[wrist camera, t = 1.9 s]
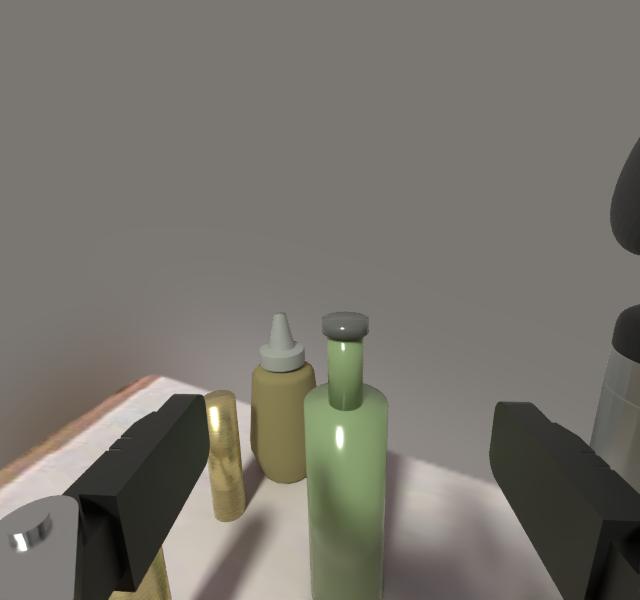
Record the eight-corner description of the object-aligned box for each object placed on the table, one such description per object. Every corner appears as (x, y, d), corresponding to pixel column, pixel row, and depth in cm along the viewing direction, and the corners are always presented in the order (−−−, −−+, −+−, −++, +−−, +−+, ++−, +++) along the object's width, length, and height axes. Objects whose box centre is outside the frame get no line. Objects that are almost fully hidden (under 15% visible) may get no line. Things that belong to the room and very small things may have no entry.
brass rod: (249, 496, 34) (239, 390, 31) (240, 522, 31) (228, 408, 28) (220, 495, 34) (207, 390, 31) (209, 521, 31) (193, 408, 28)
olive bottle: (378, 553, 28) (385, 306, 23) (386, 631, 23) (397, 334, 17) (314, 550, 28) (305, 306, 23) (307, 626, 23) (294, 334, 18)
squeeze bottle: (256, 444, 42) (244, 305, 37) (320, 439, 42) (317, 302, 38) (248, 497, 34) (232, 330, 29) (327, 490, 35) (323, 325, 30)
